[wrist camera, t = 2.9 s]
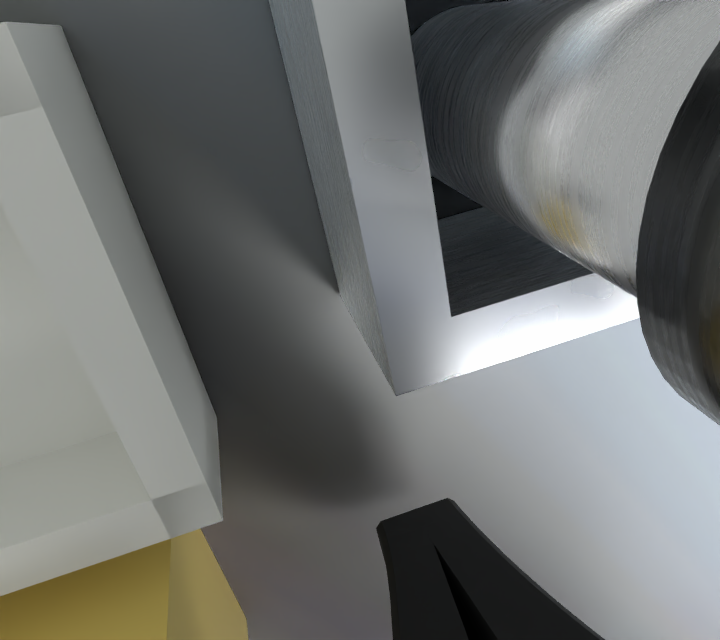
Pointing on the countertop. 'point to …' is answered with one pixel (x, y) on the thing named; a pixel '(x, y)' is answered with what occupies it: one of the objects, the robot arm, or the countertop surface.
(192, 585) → the block
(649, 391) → the countertop surface
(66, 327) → the tray
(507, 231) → the socket block
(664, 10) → the stop pin
